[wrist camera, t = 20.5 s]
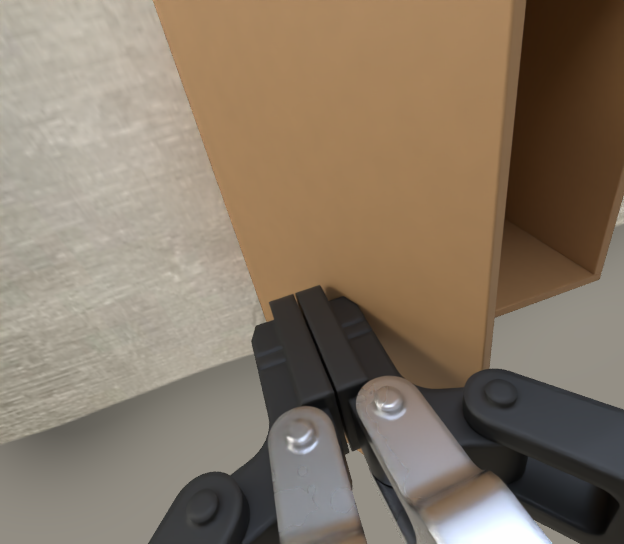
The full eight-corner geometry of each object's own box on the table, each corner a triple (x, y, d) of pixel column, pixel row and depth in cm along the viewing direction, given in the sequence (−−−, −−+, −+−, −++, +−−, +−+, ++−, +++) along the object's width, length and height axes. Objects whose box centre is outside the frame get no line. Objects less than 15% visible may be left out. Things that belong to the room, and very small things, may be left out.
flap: (301, 398, 19) (295, 404, 19) (164, -9, 10) (150, -6, 9) (474, 523, 13) (468, 533, 13) (540, -125, 4) (525, -124, 4)
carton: (260, 283, 27) (294, 391, 19) (164, -1, 18) (155, -9, 10) (487, 208, 29) (600, 279, 21) (508, -82, 20) (720, -140, 12)
